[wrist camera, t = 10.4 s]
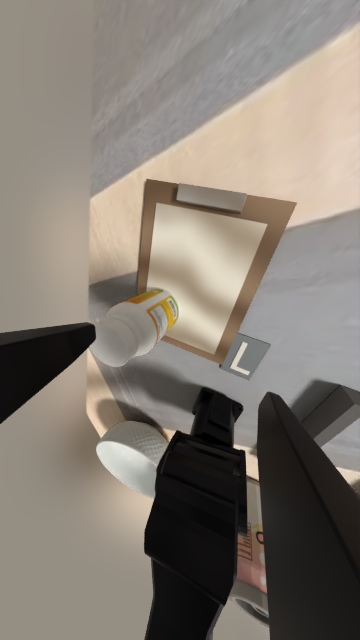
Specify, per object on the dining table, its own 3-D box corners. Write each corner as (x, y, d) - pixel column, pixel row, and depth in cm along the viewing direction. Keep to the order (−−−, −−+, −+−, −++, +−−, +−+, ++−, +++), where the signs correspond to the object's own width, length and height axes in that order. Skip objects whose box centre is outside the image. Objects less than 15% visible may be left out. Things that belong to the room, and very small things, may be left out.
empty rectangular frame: (358, 507, 23) (370, 534, 20) (264, 459, 25) (266, 478, 23) (506, 447, 14) (554, 482, 12) (340, 384, 17) (355, 403, 15)
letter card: (249, 379, 21) (249, 380, 20) (220, 367, 22) (220, 368, 21) (270, 344, 18) (270, 345, 18) (236, 332, 19) (236, 333, 19)
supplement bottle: (138, 312, 22) (75, 348, 14) (152, 279, 19) (84, 300, 11) (169, 333, 21) (123, 385, 13) (188, 303, 19) (145, 344, 10)
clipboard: (222, 362, 21) (221, 369, 20) (136, 327, 24) (129, 331, 23) (294, 204, 13) (301, 198, 12) (149, 181, 16) (141, 174, 15)
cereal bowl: (158, 464, 40) (143, 503, 33) (110, 421, 40) (86, 452, 34) (199, 450, 31) (189, 499, 25) (138, 395, 31) (113, 430, 25)
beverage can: (287, 510, 28) (314, 657, 18) (244, 503, 33) (245, 619, 22) (263, 476, 27) (277, 613, 17) (221, 473, 31) (211, 582, 21)
